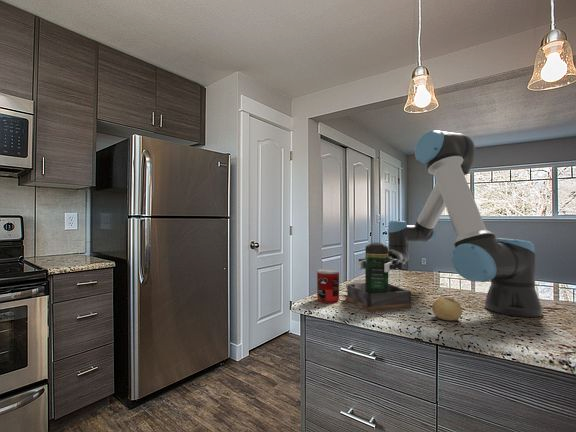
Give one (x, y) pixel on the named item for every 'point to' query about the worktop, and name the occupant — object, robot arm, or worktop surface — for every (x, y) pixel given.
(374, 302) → the tray
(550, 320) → the worktop surface
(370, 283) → the coffee jar
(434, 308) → the onion
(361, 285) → the teacup
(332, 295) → the canned food
